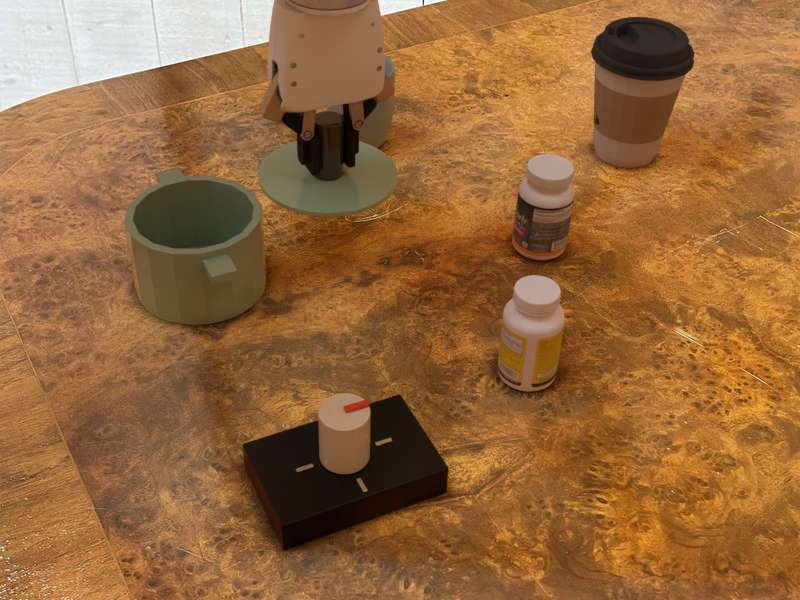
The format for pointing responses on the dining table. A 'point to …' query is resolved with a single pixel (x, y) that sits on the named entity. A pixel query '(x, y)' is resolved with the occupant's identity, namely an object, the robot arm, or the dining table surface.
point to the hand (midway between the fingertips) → (328, 162)
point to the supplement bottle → (531, 334)
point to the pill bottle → (544, 207)
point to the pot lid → (328, 175)
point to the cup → (377, 115)
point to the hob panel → (343, 475)
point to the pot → (196, 248)
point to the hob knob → (344, 433)
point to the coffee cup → (636, 87)
